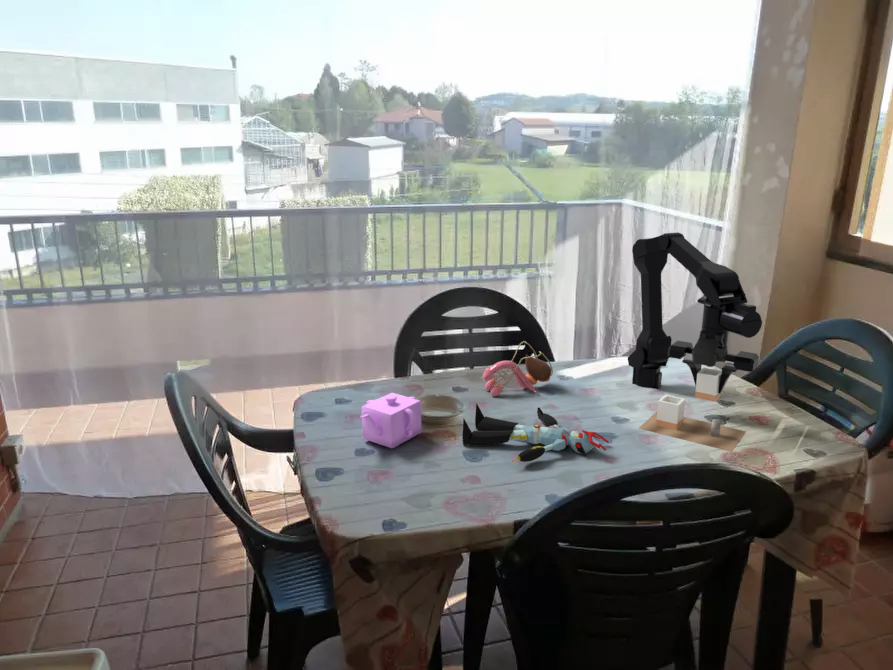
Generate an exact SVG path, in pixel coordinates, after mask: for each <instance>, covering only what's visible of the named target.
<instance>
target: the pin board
mask: <svg viewBox="0 0 893 670" xmlns="http://www.w3.org/2000/svg"><path fill="white" fill-rule="evenodd" d="M656 420H657V411H655V412H654V413H653V414H652V415H651V416H650V417H649V418H648V419H647V420H645V422H644V423H642V424H641V425H640V426H639V427H638V429H639V430H643V431H648V432H652V433H655V434H659V435H663V436H667V437H671V438H675V439H679V440H683V441H688V442H692V443H695V444H699V445H702V446H703V445H704V446H708V447H711V448H714V449H720V450H724V451H727V452H730V453H731V452H732V451H733V450H734V449H735V447H736V446H737V445H738V444H739V442H740V441H741V439H742V438H743V436H744V435H745V434H746V432H747V431H746V430H742V429H738V428H733V427H729V426H724V425H722V424H721V423H722V421H721V419H718V418H714V419H712V420H711V422H706V421H704V420H699V419H694V418H690V417H685V416H684V419H683V424H682V425H681V426H680V427H679V428H678V429H677V430H673V429H669V428H665V427H661V426H656Z"/></svg>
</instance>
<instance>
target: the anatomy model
mask: <svg viewBox="0 0 893 670" xmlns="http://www.w3.org/2000/svg"><path fill="white" fill-rule="evenodd" d="M522 344H526V345H528V346H529V347H530V349H531V350H532V351H533V353H534V355H532V356H530V355H528V354H526V355H525V357H524V356H523V357H522V358H520V360H519V362H518V364H517V363H516V362H514V359H515V357H516V355H517V354H518V351H519V348H520V346H521V345H522ZM538 353H539V354H538V355H537V352H536V350H535V349H534V348H533V347H532V346H531V344H529V343H528V342H527V341H526V340H525V341H524V340H523V341H521V342H520V343H519V344H518V347H517V348H516V350H515V353H514V355H513V357H512V359H511V360H501V361H497V362H496V363H494V364H492V365H491V366H490V367H486V368H485V370H484V372H483V374H482V379H483V380H484V381H485V382H486V384H485V385H484V388H485V390H486V391H487V390H491V391H490V396H491V397H494V396H495V397H498V396H499V395H500V393H502V392H503V389H504V388H505V387H506V386H507V385H508V383H509V382H510V380H511V379H512V378H513V377H514V379H515V381H516V383H517V384H518V385H519V387H521V389H529V390H530V391H531V392H532V391H537V390H536V388H535V387H534V385H537V383H538V382H540V383H545V382H549V381H550V380H551V377H552V376H553V372H554V371H553V366H552V363H551V361H550V359H549V358H548V357H547V356H546V355H545V354H544V353H543V352H542V351H538ZM541 355H542V356H543V357H544V358H545V360H547V362H546V361H545V360H542V359H539V358H538V357H540V356H541ZM523 360H525V364H524V365H525V370H526V372H527V373H526V374H524V372H523V371H522V369H521V368H520V367H519V366H520V364H521V362H522V361H523ZM548 363H549V364H548ZM504 369H506V370H504ZM509 370H511V372H512V374H511V375H510V377H509V379H508V380H507V378H508V376H509V373H507V372H508V371H509ZM499 371H500V372H499ZM501 372H502V373H503V374H502V373H501ZM496 373H497V374H499V376H500V377H499V378H498V379H497V380H496V379H495V378H494V375H495V374H496ZM505 375H506V377H505ZM502 378H503V379H504V380H507V381H506V383H505V384H504V385H502V384H500V383H499V382H500V380H501V379H502Z"/></svg>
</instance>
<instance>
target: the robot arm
mask: <svg viewBox="0 0 893 670" xmlns="http://www.w3.org/2000/svg"><path fill="white" fill-rule="evenodd" d="M669 254H670V256H671V257H672V258H674V259H675V260H676V262H678V263H680V265H682V267H684V268H685V269H686V270H687V272H689V274H691V275H692V276H693V277H694V278H695V285H696V286H697V288H698V289H699V291H700V292H701V293H702V294H703V296H701V297H699V298H698V299H697V303H698V304H702V305H703V310H702V311H703V312H702V321H701V324H702V325H701V330H700V332H699V337H698V340H697V342H696V343H695V345H694V346H693V343H692V342H688V341H683V340H677V341H675V342H674V343H672V336H671V335H667V333H666V332H665V331H664V328H663V300H662V299H663V296H662V295H663V293H662V289H663V288H662V273H663V270H664V268H665V267H666V265H667V263H668V256H669ZM632 257H633V258H632V259H633V264H634V266H635V267H636V269H637V271H638V272H639V274H640V291H641V293H640V294H641V321H642V323H641V325H642V326H641V327H642V329H641V331H640V333H639V335H638V337H637V339H636V341H635V342H636V343H635V350H633V351H632V353H630V355H629V356H627V362H628V366H630V367H632V369H633V370H632V380H631V381H632V382H631V384H632V385H636V386H637V387H641V388H646V389H647V388H648V389H656V390H659V389H660V388H662V380H663V379H662V378H663V377H662V376H663V372H662V371H661V367H666V366H667V364H668V362H669V358H671V359H677V360H681V359H682V361H681V362H682V363H683V364H686V365H687V367H689V369H690V370H689V371H691V374H692V379H693V382H694V385H695V387H696V381H697V373H698V372H699V371H700V370H701V369H702V366H706V368H711V367H712V368H713V367H714V366H715V365H716V364H717V363H724V364H725V365H724V366H722V368H721V371H722V375H721V379H720V384H719V391H718V393H721V394H722V392H723V390H724V388H725V386H726V384H727V382H728V380H729V378H730V377H731V375H732V373H736V372H738V371H743V372H751V373H752V372H754V370H755V369H757V367H758V366H759V363H760V362H759V361H760V356H759V355H758V354H757V353H756V352H755V353H754V352H749V351H742V350H740V351H739V352H738V353H737V354H733V353H728V351H729V350H728V347H729V346H728V342H729V334H730V333H733V334H735V335H739V336H741V337H745V338H746V339H747V338H748V339H750V338H753V337H755V336H757V335H758V333H759V332H760V330H762V326H763V320H762V317H761V315H760V313H759V312H758V311H757V306H756V305H753V304H748V299H747V297H746V293H745V291H744V289H743V286H742V284H741V282H740V279H739V278H740V277H739V274H738V273H737V272H736V271H734V270H733V269H731V268H729V267H727V266H726V265H722V264H719V263H716V262H714V261H712V260H711V259H710V258H708V257H707V256H706V255H705V254H703V252H701V251H700V250H699V249H698V248H697V247H695V245H693V244H692V243H691V242H689V241H688V240H687V239H686V238H685V236H684V234H682V233H681V232H666V233H663V234H661V235H658V236H655V237H650V238H648V237H647V238H640V239H637V240H636V241H635V243H633V246H632Z"/></svg>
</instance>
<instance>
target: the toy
mask: <svg viewBox="0 0 893 670" xmlns="http://www.w3.org/2000/svg"><path fill="white" fill-rule="evenodd" d="M536 414H537V418H538V420H540V421H541V422H542V424H543V425H544V426H542V424H541V423H540V424H533V425H523V424H519V422H514V421H508V420H504V419H500V418H495V417H494V418H493V417H491V416H485V415H484V414H483V412H482V410H481V408H480V406H479V405H478V403H475V417H474V422H475V424H474V425H475V426H474V427H475V429H477V430H471V428H470V426H469V425H468V422H467V421H466V420H465V418H464V417H463V420H462V421H463V422H462V445H463V446H471V447H472V446H473V447H489V446H495V445H496V446H497V445H500V444H505V443H509V441H520V442H521V441H522V442H526V443H529V444H533V445H536V446H530V447H527V448H526V449H523V450H522V451H521V452H519V453H518V455H517V457H516V458H514V459H512V460H511V461H512V462H517V461H519V462H521V463H522V462H523V463H524V462H525V463H526V462H527V463H528V462H533V461H534V460H537V459H539V458H541V457H543V455H544V454H545V453H546V452H547V451H551V450H552V451H558V452H559V451H562V450H564V449H566V448H567V447H566V446H568V445H570V448H571V449H572V450H573V451H574V452H575V453H577V454H581V455H583V456H585V457H587V453H589V452H590V451H591V450H592V448H594V447H596V448H597V449H599V450H600V449H602V450H604V452H605V451H607V448H605V446H603V445H602V444H601V442H598V443H596V442H595V441H593V440H594V439H593V438H595V439H598V440H601V439H602V440H603V441H604V442H606V443H607V444H609V442H610V441H608V440H607V439H606V438H605V437H604V436H602V435H601V434H599V433H597V432H594V431H587V430H583V429H581V430H580V431H579V430H578V429H577V430H573V431H570V430H569V429H568V428H566V427H559V425H558V424H559V423H558V421H557V419H556V418H555V417H554V416H552V415H550V414H548V413H544V411H543V410H542V409H541V407H540V406H538V407H537V411H536ZM480 430H481V431H480ZM537 444H542V445H544V446H540V445H537ZM593 446H594V447H593Z"/></svg>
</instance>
